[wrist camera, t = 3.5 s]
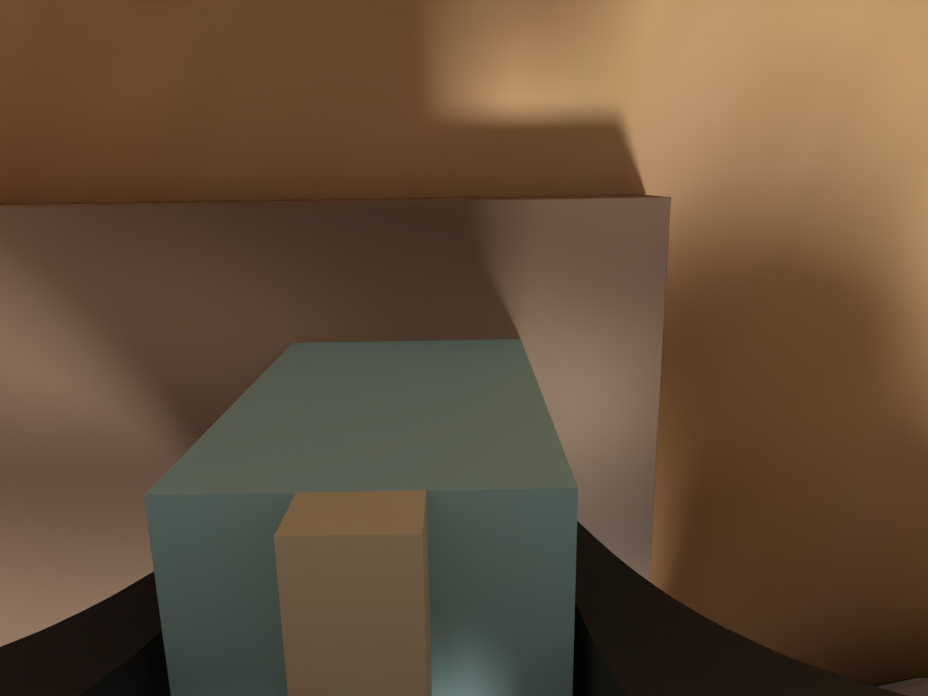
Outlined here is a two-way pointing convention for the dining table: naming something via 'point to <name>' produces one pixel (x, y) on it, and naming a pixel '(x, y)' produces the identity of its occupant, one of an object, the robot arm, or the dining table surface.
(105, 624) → the robot arm
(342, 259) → the board
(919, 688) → the coffee pot
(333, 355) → the teal and beige block
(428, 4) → the dining table surface
